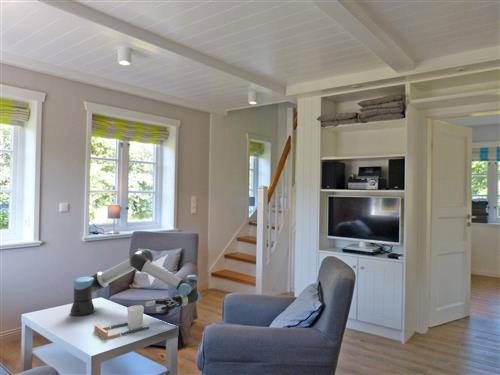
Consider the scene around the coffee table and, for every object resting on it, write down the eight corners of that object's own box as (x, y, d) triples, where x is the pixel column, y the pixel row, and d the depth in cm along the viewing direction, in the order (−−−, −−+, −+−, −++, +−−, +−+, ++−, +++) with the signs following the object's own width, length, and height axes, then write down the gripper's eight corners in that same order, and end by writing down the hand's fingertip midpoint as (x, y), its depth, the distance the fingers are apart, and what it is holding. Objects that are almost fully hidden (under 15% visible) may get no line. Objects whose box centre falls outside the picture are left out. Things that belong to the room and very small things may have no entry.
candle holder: (138, 330, 226) (139, 310, 226) (123, 329, 228) (124, 309, 228) (146, 325, 236) (146, 305, 236) (131, 323, 238) (132, 304, 238)
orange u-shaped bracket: (94, 331, 223) (94, 325, 223) (109, 328, 229) (109, 321, 229) (105, 339, 211) (105, 332, 211) (120, 335, 217) (120, 329, 217)
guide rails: (110, 327, 229) (110, 325, 229) (136, 321, 241) (136, 319, 241) (122, 335, 218) (122, 332, 218) (148, 328, 229) (148, 326, 229)
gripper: (190, 310, 244) (161, 317, 230) (169, 302, 262) (141, 308, 248) (190, 299, 244) (161, 305, 230) (170, 291, 263) (142, 296, 248)
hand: (151, 306), depth 239 cm, fingers open, 13 cm apart
